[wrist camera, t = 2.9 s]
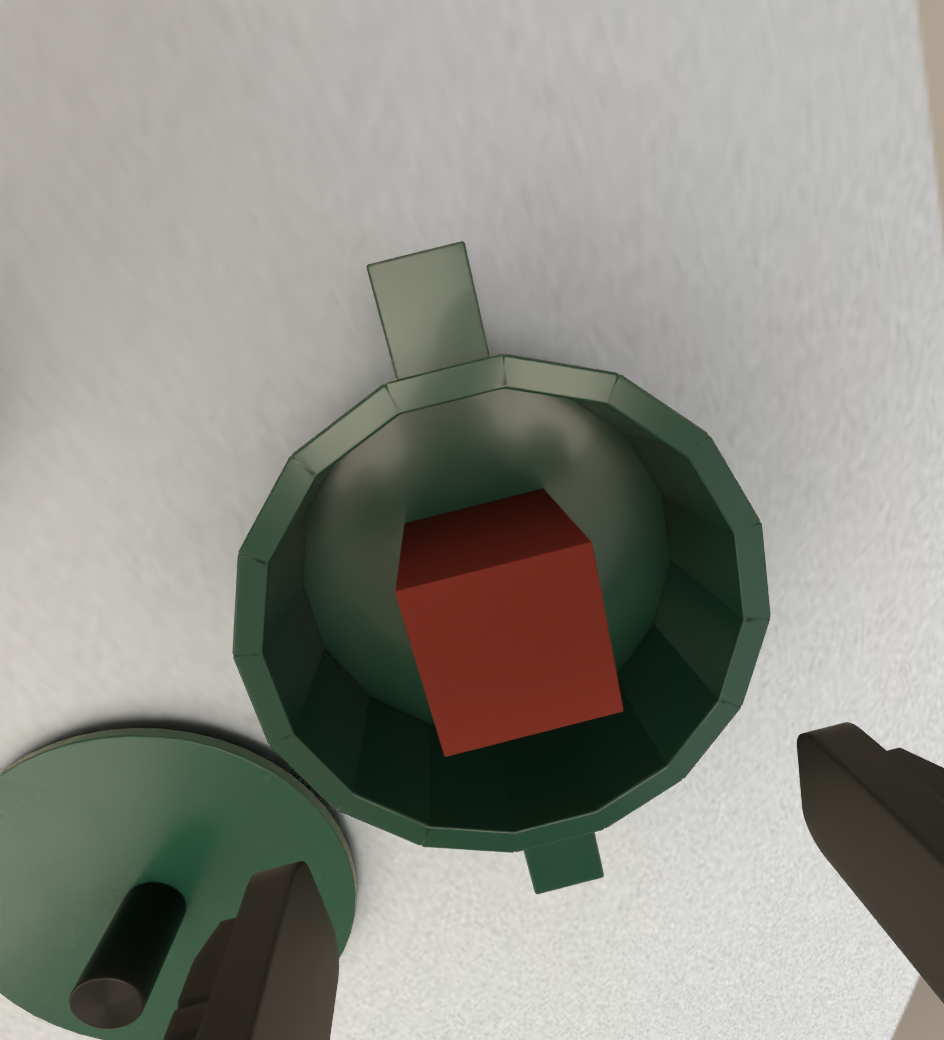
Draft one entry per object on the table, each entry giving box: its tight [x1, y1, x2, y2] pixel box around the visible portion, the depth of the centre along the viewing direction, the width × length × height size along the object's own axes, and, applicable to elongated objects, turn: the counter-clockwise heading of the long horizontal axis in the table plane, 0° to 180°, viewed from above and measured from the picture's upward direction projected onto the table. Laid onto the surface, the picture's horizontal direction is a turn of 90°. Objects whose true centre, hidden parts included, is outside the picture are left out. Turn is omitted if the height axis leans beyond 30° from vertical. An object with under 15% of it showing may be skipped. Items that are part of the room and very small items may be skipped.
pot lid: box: [0, 728, 357, 1040], centre depth 21 cm, size 16×16×5 cm
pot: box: [233, 241, 770, 894], centre depth 18 cm, size 15×20×6 cm
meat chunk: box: [395, 489, 623, 757], centre depth 17 cm, size 5×5×6 cm
